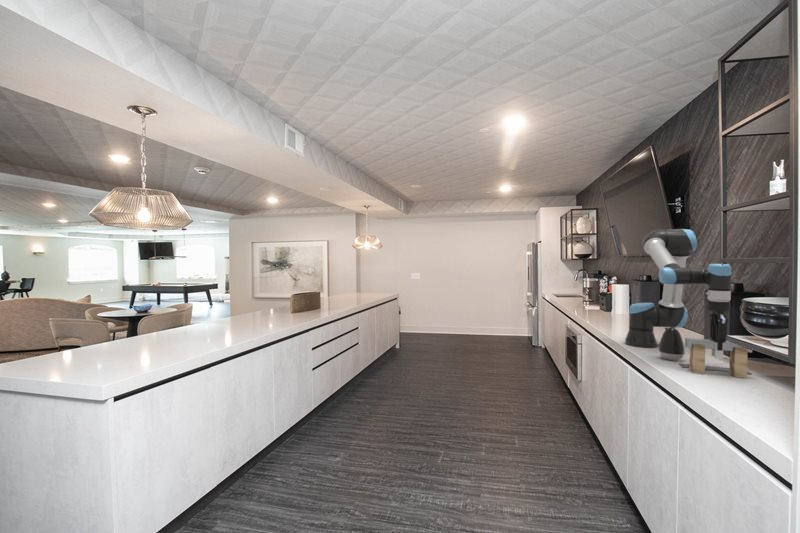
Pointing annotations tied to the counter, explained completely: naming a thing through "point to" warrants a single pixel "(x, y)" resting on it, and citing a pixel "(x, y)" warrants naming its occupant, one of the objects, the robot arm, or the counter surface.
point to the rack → (736, 361)
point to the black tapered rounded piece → (671, 345)
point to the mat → (711, 368)
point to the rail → (711, 344)
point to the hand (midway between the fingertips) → (717, 356)
